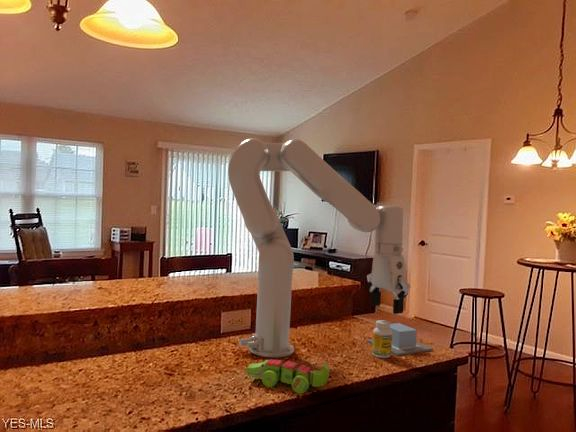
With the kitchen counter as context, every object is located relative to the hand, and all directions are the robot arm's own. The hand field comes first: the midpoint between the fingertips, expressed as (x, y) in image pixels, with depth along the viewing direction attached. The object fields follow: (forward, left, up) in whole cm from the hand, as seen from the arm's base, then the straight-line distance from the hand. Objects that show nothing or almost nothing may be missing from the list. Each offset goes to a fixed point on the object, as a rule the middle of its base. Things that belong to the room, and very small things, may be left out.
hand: (386, 309), depth 137 cm
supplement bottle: (-1, 0, -13) cm, 13 cm away
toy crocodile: (-36, -9, -14) cm, 40 cm away
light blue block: (+10, +5, -13) cm, 17 cm away
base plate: (+10, +5, -13) cm, 18 cm away
